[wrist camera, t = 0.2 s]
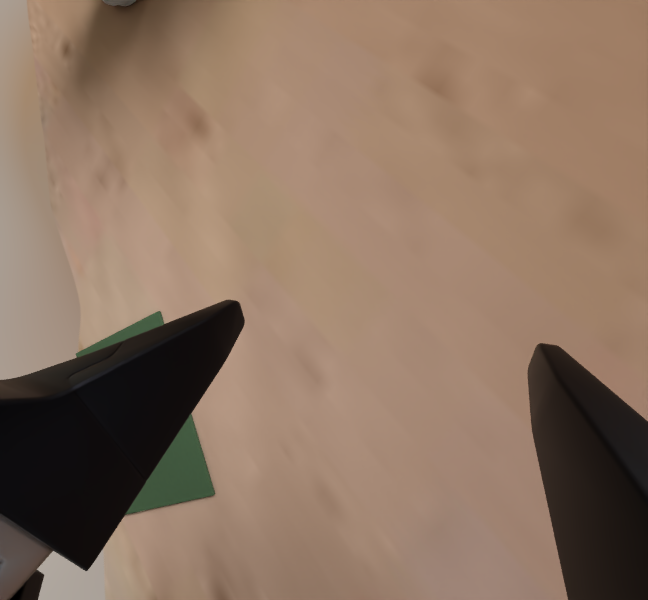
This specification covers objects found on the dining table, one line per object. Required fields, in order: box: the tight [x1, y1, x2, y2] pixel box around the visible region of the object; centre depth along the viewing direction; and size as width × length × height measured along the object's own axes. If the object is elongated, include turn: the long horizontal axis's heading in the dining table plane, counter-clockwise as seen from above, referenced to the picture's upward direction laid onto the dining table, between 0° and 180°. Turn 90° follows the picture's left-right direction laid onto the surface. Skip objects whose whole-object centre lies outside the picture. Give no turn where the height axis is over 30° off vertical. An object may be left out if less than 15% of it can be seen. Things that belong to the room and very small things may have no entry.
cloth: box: [76, 311, 215, 515], centre depth 33 cm, size 19×14×1 cm
